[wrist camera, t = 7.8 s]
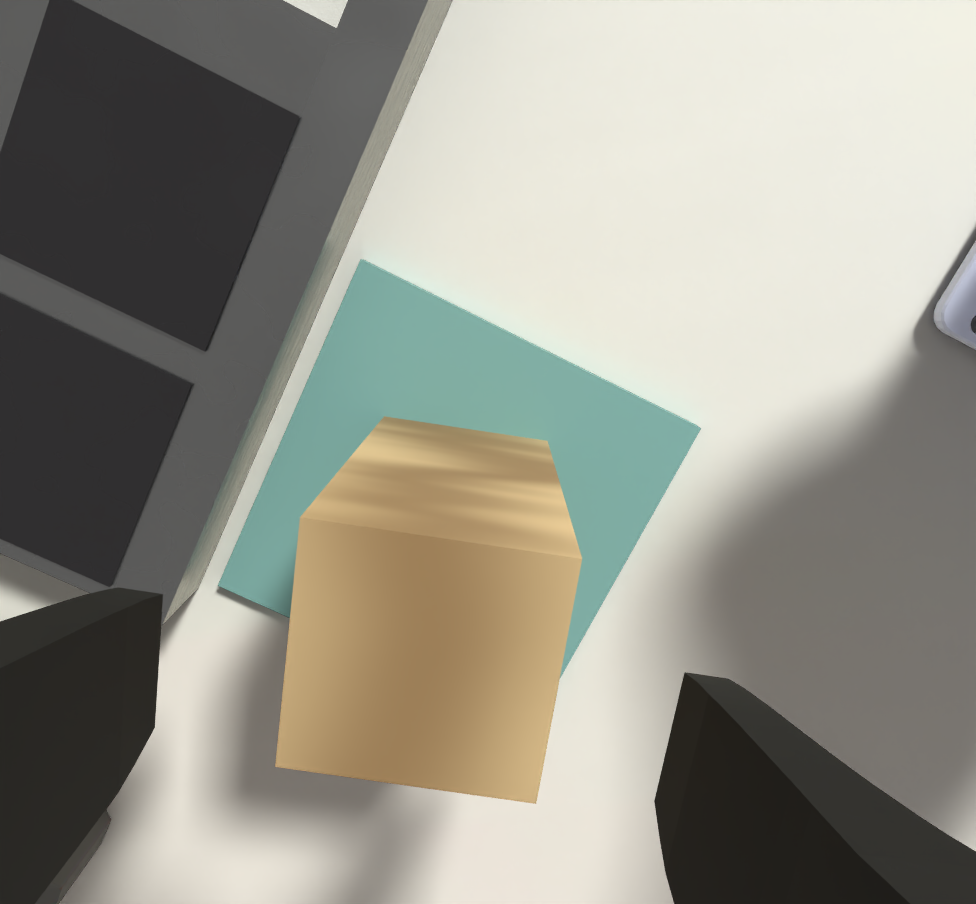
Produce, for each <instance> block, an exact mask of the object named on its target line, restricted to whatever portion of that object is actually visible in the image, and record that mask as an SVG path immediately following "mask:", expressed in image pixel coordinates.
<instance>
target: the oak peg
mask: <svg viewBox="0 0 976 904" xmlns="http://www.w3.org/2000/svg"><path fill="white" fill-rule="evenodd" d="M581 563H582V556H581V553H580V550H579V546H578V543H577V539H576V536H575V533H574V529H573V526H572V522H571V519H570V516H569V512H568V509H567V505H566V502H565V499H564V495H563V492H562V488H561V485H560V482H559V478H558V475H557V471H556V468H555V465H554V461H553V458H552V454H551V451H550V448H549V444H548V441H545V440H539V439H532V438H525V437H519V436H512V435H505V434H499V433H492V432H485V431H479V430H472V429H465V428H459V427H452V426H445V425H439V424H432V423H425V422H419V421H412V420H406V419H399V418H392V417H386V416H384V417H383V418H382V419H381V421H380V422H379V423H378V424H377V425H376V427H375V428H374V429H373V430H372V431H371V433H370V434H369V435H368V436H367V437H366V439H365V440H364V441H363V442H362V443H361V445H360V446H359V447H358V448H357V449H356V451H355V452H354V453H353V454H352V455H351V457H350V458H349V459H348V460H347V461H346V463H345V464H344V465H343V466H342V467H341V469H340V470H339V471H338V472H337V473H336V475H335V476H334V477H333V478H332V479H331V481H330V482H329V483H328V484H327V485H326V487H325V488H324V489H323V490H322V491H321V493H320V494H319V495H318V496H317V497H316V499H315V500H314V501H313V502H312V503H311V505H310V506H309V507H308V508H307V509H306V511H305V512H304V513H303V514H302V515H301V517H300V522H299V532H298V542H297V552H296V562H295V572H294V583H293V593H292V603H291V613H290V623H289V633H288V643H287V653H286V663H285V673H284V683H283V693H282V703H281V713H280V723H279V733H278V743H277V753H276V763H275V767H280V768H287V769H294V770H301V771H308V772H315V773H322V774H329V775H336V776H343V777H350V778H357V779H365V780H372V781H379V782H386V783H393V784H400V785H407V786H414V787H421V788H428V789H435V790H443V791H450V792H457V793H464V794H471V795H478V796H485V797H492V798H499V799H506V800H513V801H520V802H528V803H535V804H536V801H537V796H538V791H539V786H540V780H541V775H542V770H543V764H544V759H545V754H546V748H547V743H548V738H549V732H550V727H551V722H552V717H553V711H554V706H555V701H556V695H557V690H558V685H559V679H560V674H561V669H562V663H563V658H564V653H565V648H566V642H567V637H568V632H569V626H570V621H571V616H572V610H573V605H574V600H575V594H576V589H577V584H578V579H579V573H580V568H581Z"/></svg>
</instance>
